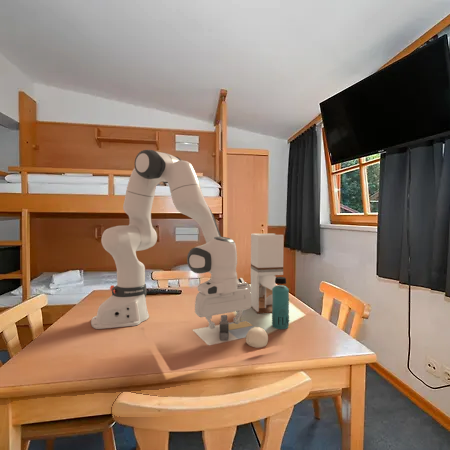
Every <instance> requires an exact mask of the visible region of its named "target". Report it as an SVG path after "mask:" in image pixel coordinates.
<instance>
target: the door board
mask: <svg viewBox="0 0 450 450" xmlns="http://www.w3.org/2000/svg"><path fill="white" fill-rule="evenodd" d="M220 321H228V315H227V314H220ZM253 327H255V326H254V325H253V324H252V323H250V322H248V321H246V320H245V319H243V320H240V323H238V324H235V323H234V321H231V322H229V339H228V340H220V324H215V328H212V329H210V328H209V326H204V327H199V328H194V329H192V332H194V333H195V334H196V335H197V336H198V337H199V339H200V340H202V341H203V342H204V343H205V344H206V345H207V346H213V345H218V344H223V343H226V342H227V343H228V342H231V341H237V340H240V339H246V334H247V333H248V331H249V330H250V329H251V328H253Z"/></svg>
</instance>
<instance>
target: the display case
mask: <svg viewBox="0 0 450 450" xmlns="http://www.w3.org/2000/svg"><path fill="white" fill-rule="evenodd" d="M284 237H285V236H284V234H276V233H251V234H250V287H251V292H250V293H251V300H252V306H251V309H252V310H253V311H255V313H256V314H257V315H259V314H260V315H263V314H272V289H273V287H275V286H277V283H275V278H276V277H277V276H283V275H284V244H285V243H284V242H285V240H284Z"/></svg>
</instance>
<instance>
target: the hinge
mask: <svg viewBox="0 0 450 450" xmlns="http://www.w3.org/2000/svg"><path fill="white" fill-rule="evenodd" d="M244 282H245V280H244V278H243V277H239V278H237V283H244ZM250 294H251V292H250Z"/></svg>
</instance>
